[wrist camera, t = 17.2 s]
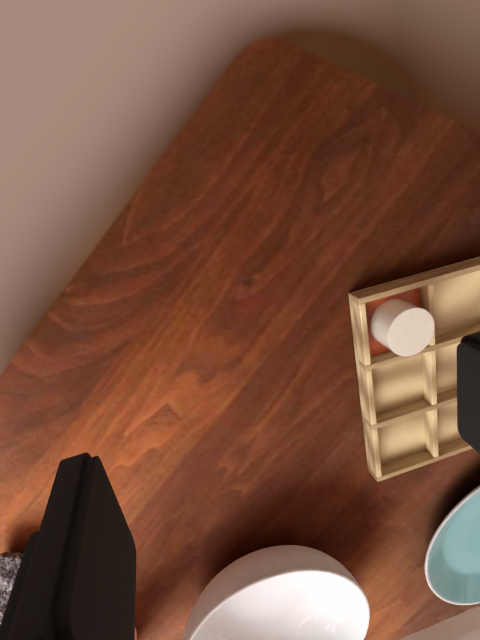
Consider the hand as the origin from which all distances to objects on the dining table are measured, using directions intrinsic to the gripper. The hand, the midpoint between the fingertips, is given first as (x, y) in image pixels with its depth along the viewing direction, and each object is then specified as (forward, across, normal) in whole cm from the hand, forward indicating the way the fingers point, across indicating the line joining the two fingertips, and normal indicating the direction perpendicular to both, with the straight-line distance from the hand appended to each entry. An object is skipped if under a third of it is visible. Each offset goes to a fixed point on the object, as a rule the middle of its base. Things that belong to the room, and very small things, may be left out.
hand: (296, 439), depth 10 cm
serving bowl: (+26, +1, +41) cm, 49 cm away
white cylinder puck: (+26, -18, +11) cm, 33 cm away
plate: (+26, -30, +45) cm, 60 cm away
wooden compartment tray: (+26, -25, +18) cm, 41 cm away
